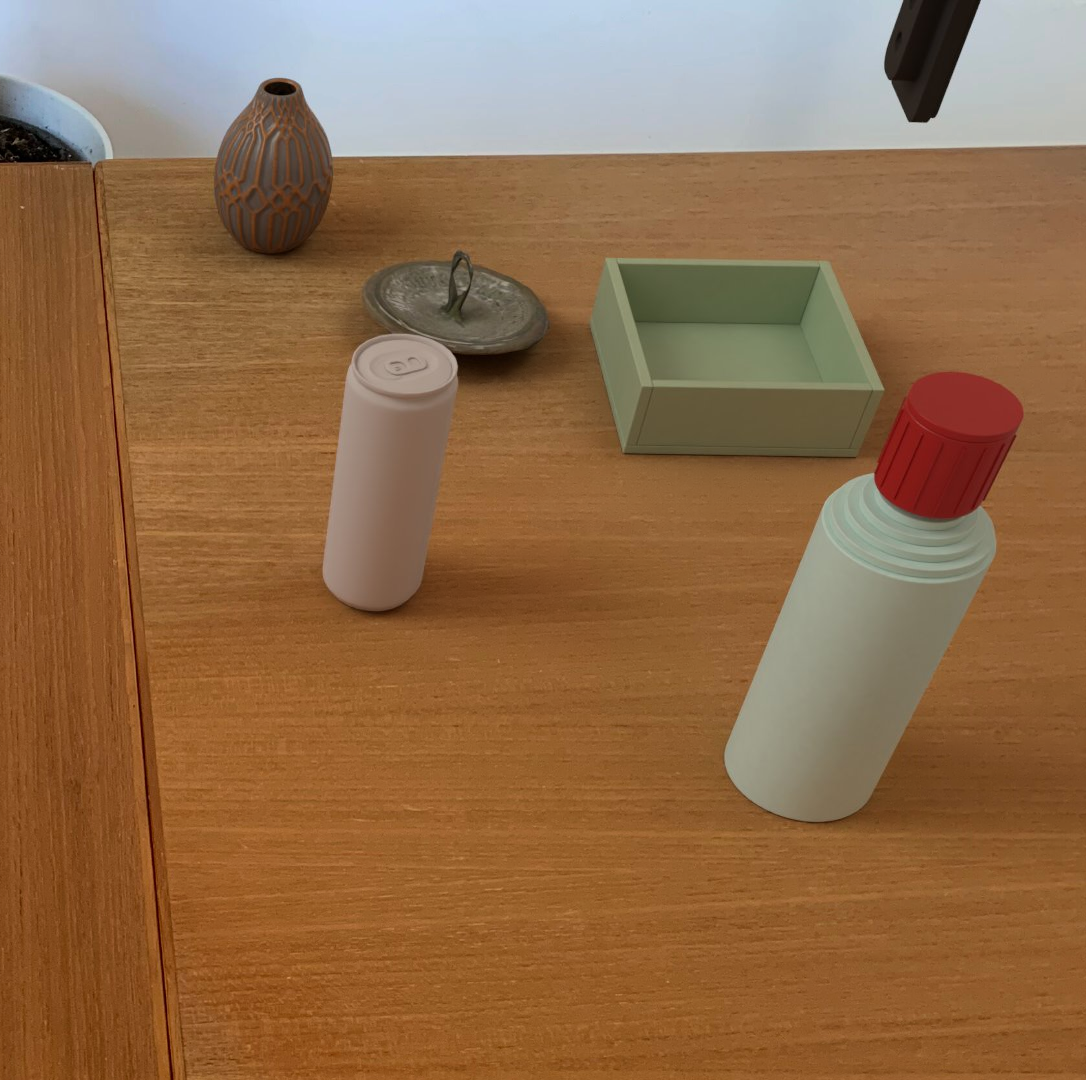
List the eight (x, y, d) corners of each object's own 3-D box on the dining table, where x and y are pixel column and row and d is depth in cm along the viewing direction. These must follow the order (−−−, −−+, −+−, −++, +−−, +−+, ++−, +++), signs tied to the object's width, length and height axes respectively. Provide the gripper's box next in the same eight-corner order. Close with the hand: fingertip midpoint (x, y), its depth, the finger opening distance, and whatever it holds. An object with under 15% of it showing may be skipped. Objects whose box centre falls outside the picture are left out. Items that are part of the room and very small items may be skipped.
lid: (340, 383, 95) (349, 316, 90) (375, 253, 98) (386, 182, 94) (527, 418, 93) (546, 353, 89) (556, 285, 97) (576, 215, 92)
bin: (805, 327, 96) (829, 260, 92) (857, 457, 88) (885, 390, 85) (589, 323, 96) (605, 257, 93) (622, 453, 88) (641, 386, 85)
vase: (268, 280, 98) (280, 129, 92) (187, 234, 102) (193, 84, 95) (350, 239, 101) (367, 89, 94) (269, 195, 104) (280, 47, 97)
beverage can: (303, 567, 83) (328, 346, 73) (390, 542, 84) (425, 321, 74) (350, 627, 80) (382, 406, 70) (438, 601, 81) (482, 379, 72)
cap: (966, 455, 64) (1006, 371, 61) (997, 521, 61) (1039, 437, 59) (861, 453, 64) (895, 369, 61) (887, 519, 61) (925, 435, 59)
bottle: (853, 719, 76) (1025, 362, 62) (889, 824, 72) (1081, 469, 58) (711, 717, 76) (849, 359, 62) (739, 821, 72) (894, 465, 58)
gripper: (1705, -670, 41) (1309, 61, 55) (979, -678, 42) (767, 44, 55) (1878, -600, 37) (1399, 178, 50) (1060, -611, 37) (807, 158, 51)
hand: (1067, 107), depth 53 cm, fingers open, 9 cm apart
